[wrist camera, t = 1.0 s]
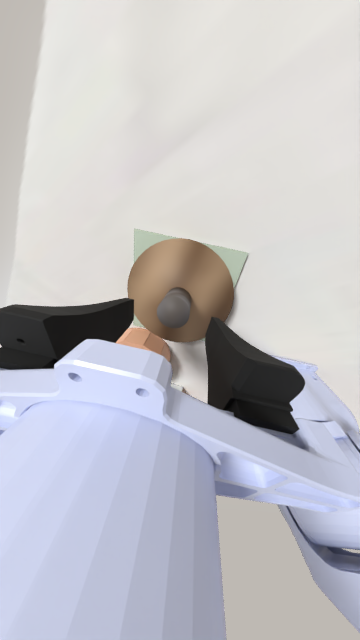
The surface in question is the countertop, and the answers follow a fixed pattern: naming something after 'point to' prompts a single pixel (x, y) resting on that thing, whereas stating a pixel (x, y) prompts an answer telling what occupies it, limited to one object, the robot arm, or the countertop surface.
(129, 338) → the bowl
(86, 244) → the countertop surface
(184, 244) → the lid
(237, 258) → the mat
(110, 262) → the countertop surface
